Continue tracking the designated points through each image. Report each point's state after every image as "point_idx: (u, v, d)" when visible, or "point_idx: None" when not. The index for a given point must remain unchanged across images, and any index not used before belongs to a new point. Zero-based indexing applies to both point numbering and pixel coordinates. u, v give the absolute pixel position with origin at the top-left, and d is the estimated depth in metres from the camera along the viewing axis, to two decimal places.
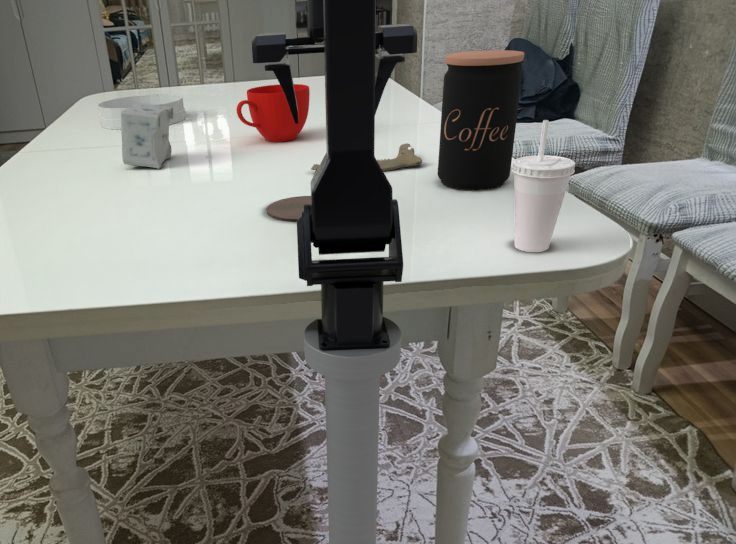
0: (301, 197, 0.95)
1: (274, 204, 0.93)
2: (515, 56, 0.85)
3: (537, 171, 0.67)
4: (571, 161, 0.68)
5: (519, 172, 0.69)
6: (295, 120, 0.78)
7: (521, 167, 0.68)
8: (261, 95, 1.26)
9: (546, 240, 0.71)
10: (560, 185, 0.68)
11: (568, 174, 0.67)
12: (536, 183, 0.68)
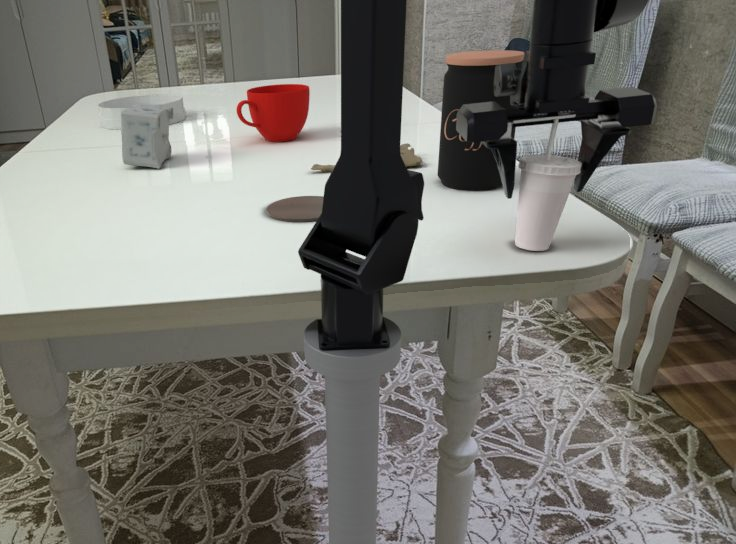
0: (301, 197, 0.95)
1: (274, 204, 0.93)
2: (515, 56, 0.85)
3: (545, 168, 0.67)
4: (578, 162, 0.69)
5: (526, 168, 0.69)
6: (509, 195, 0.71)
7: (528, 163, 0.68)
8: (261, 95, 1.26)
9: (547, 240, 0.71)
10: (566, 184, 0.68)
11: (574, 173, 0.67)
12: (542, 180, 0.68)
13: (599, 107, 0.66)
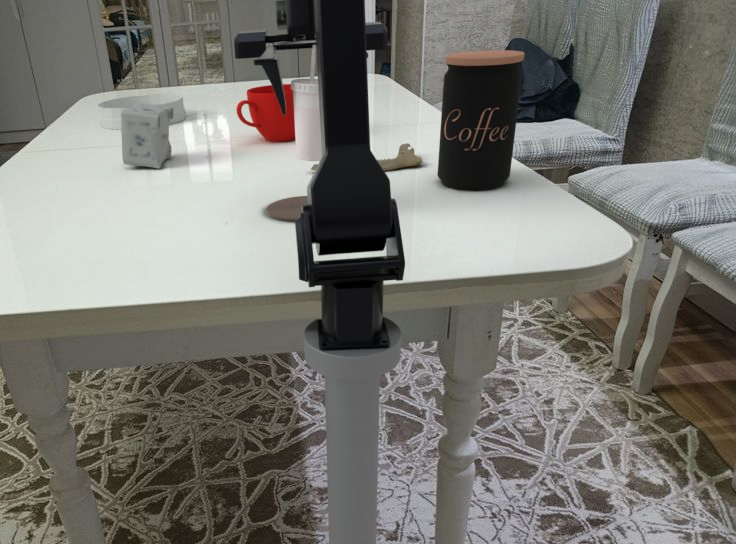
0: (301, 197, 0.95)
1: (274, 204, 0.93)
2: (515, 56, 0.85)
3: (304, 86, 0.80)
4: None
5: (293, 88, 0.82)
6: (283, 111, 0.83)
7: (294, 83, 0.81)
8: (261, 95, 1.26)
9: (318, 151, 0.85)
10: None
11: None
12: (304, 97, 0.81)
13: None
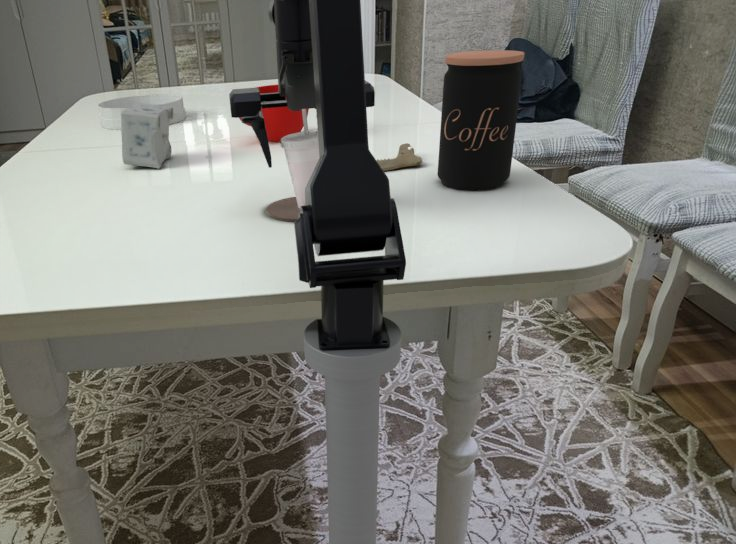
0: None
1: (274, 204, 0.93)
2: (515, 56, 0.85)
3: None
4: (282, 139, 0.87)
5: None
6: None
7: None
8: None
9: None
10: None
11: None
12: None
13: None
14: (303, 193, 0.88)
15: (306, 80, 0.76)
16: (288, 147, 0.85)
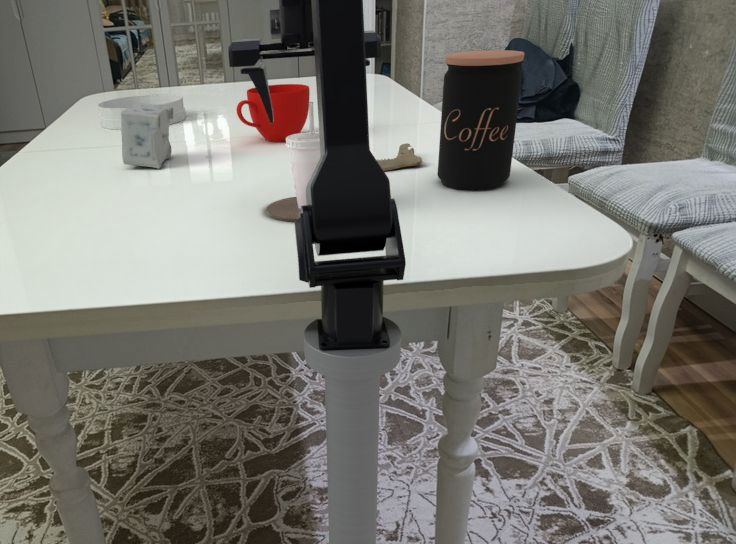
0: None
1: (274, 204, 0.93)
2: (515, 56, 0.85)
3: None
4: (288, 138, 0.87)
5: None
6: (270, 120, 0.84)
7: None
8: None
9: None
10: None
11: None
12: None
13: None
14: (304, 193, 0.88)
15: None
16: (293, 146, 0.85)
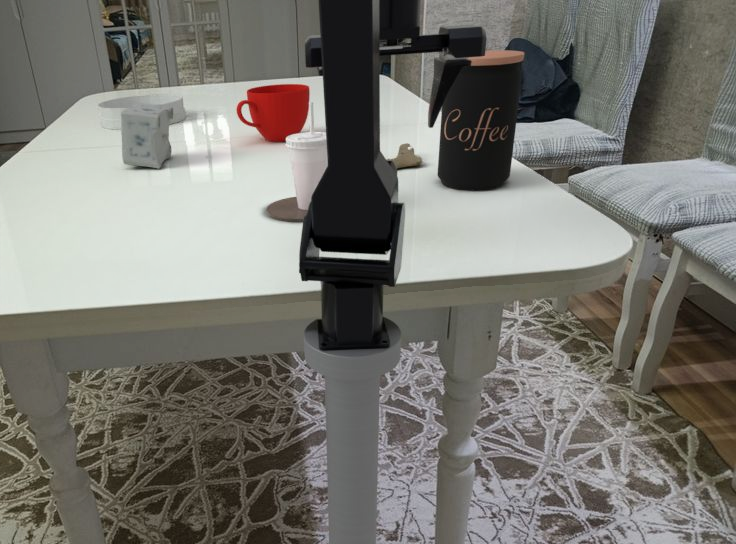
0: None
1: (274, 204, 0.93)
2: (515, 56, 0.85)
3: None
4: (288, 138, 0.87)
5: None
6: None
7: None
8: (261, 95, 1.26)
9: None
10: None
11: None
12: None
13: (444, 40, 0.67)
14: (304, 193, 0.88)
15: None
16: (293, 146, 0.85)
